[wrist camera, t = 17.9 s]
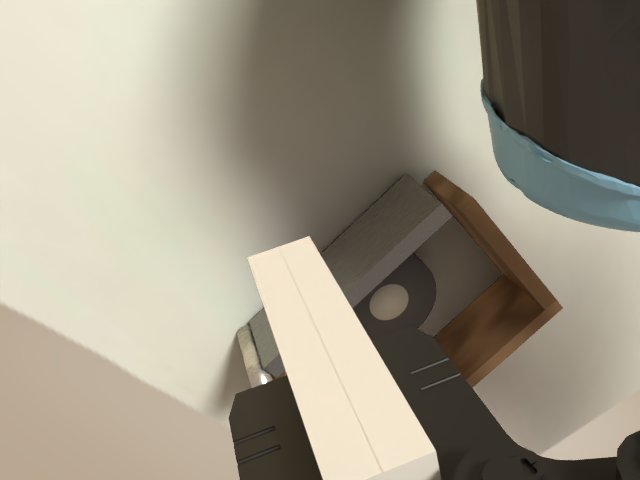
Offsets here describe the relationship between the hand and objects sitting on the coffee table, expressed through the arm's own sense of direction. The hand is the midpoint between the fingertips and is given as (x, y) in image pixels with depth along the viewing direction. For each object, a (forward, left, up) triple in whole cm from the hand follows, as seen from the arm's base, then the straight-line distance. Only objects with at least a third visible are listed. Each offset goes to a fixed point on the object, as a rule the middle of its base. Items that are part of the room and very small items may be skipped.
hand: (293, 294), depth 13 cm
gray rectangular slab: (+3, +16, -26) cm, 31 cm away
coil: (+2, +21, -27) cm, 34 cm away
